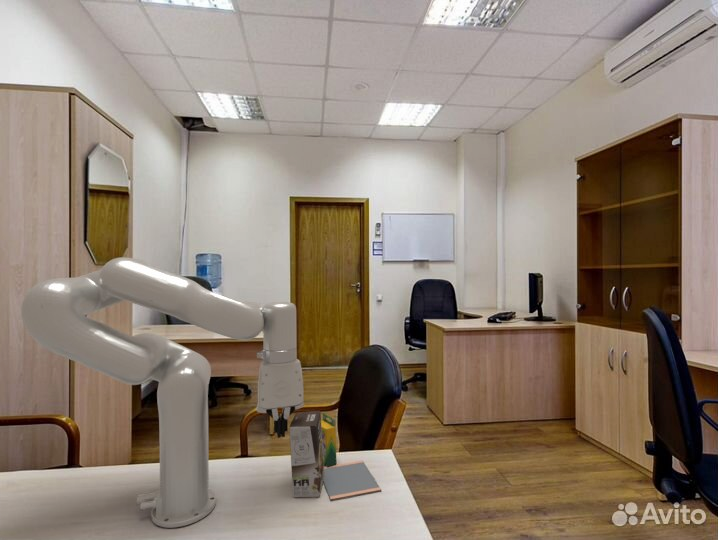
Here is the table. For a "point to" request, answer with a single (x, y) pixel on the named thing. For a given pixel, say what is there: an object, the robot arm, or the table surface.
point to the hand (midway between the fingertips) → (280, 434)
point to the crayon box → (329, 441)
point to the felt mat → (349, 480)
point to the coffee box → (306, 454)
